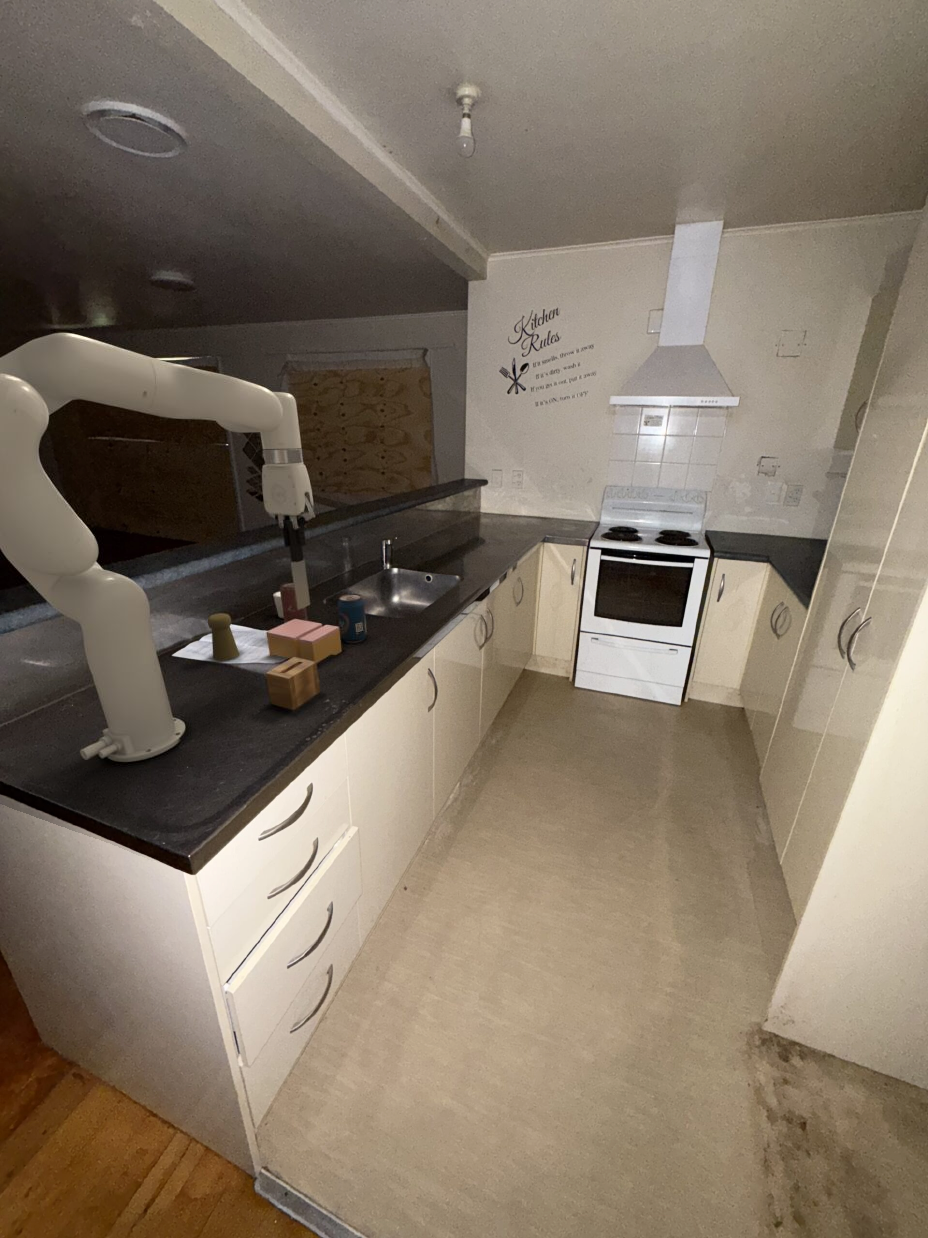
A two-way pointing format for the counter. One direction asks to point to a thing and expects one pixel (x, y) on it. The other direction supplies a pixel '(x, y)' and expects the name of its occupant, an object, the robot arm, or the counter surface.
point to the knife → (298, 571)
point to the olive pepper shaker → (222, 637)
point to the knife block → (293, 683)
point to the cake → (289, 637)
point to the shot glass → (278, 604)
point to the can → (291, 603)
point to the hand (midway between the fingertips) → (295, 545)
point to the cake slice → (320, 643)
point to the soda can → (352, 618)
